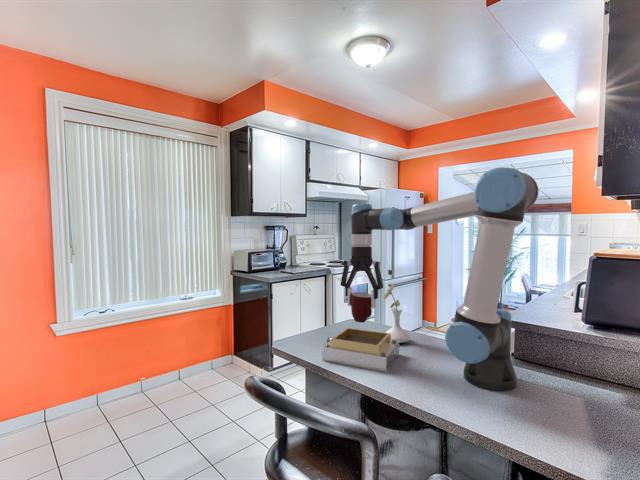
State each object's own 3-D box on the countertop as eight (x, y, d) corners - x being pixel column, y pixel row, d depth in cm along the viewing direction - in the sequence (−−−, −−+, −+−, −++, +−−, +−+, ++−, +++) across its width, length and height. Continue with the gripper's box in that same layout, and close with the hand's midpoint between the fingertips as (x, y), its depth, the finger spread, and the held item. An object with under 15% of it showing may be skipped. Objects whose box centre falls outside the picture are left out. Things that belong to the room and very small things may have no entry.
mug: (379, 324, 125) (381, 298, 124) (362, 327, 121) (364, 299, 120) (361, 316, 134) (363, 291, 133) (344, 318, 130) (346, 293, 129)
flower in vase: (393, 335, 154) (393, 280, 154) (415, 341, 146) (415, 283, 145) (375, 341, 146) (375, 283, 145) (398, 348, 137) (398, 286, 136)
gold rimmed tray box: (399, 354, 131) (399, 333, 130) (386, 372, 115) (386, 348, 114) (332, 343, 143) (332, 324, 143) (312, 358, 127) (312, 337, 127)
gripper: (392, 245, 125) (392, 307, 126) (339, 244, 135) (339, 301, 135) (387, 246, 118) (386, 311, 119) (331, 245, 128) (331, 305, 129)
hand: (361, 306), depth 127 cm, fingers closed on mug, 9 cm apart
